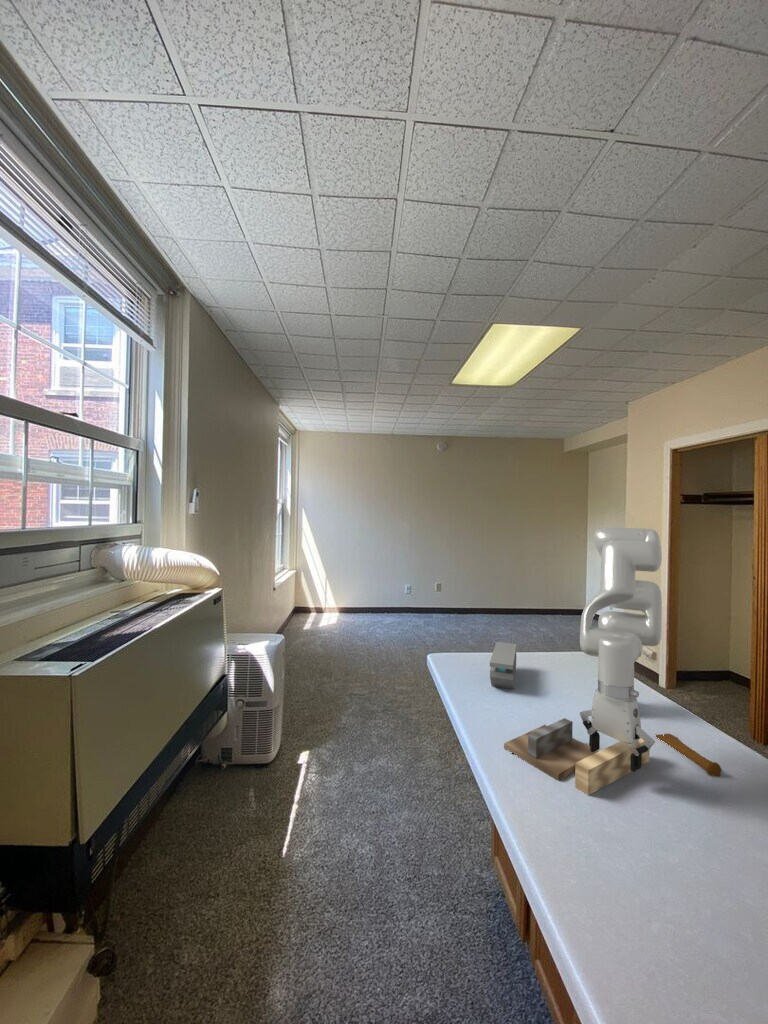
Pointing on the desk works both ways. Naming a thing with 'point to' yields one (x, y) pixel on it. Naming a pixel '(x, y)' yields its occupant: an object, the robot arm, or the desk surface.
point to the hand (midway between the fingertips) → (614, 759)
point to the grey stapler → (503, 665)
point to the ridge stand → (550, 748)
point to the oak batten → (605, 767)
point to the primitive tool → (691, 754)
